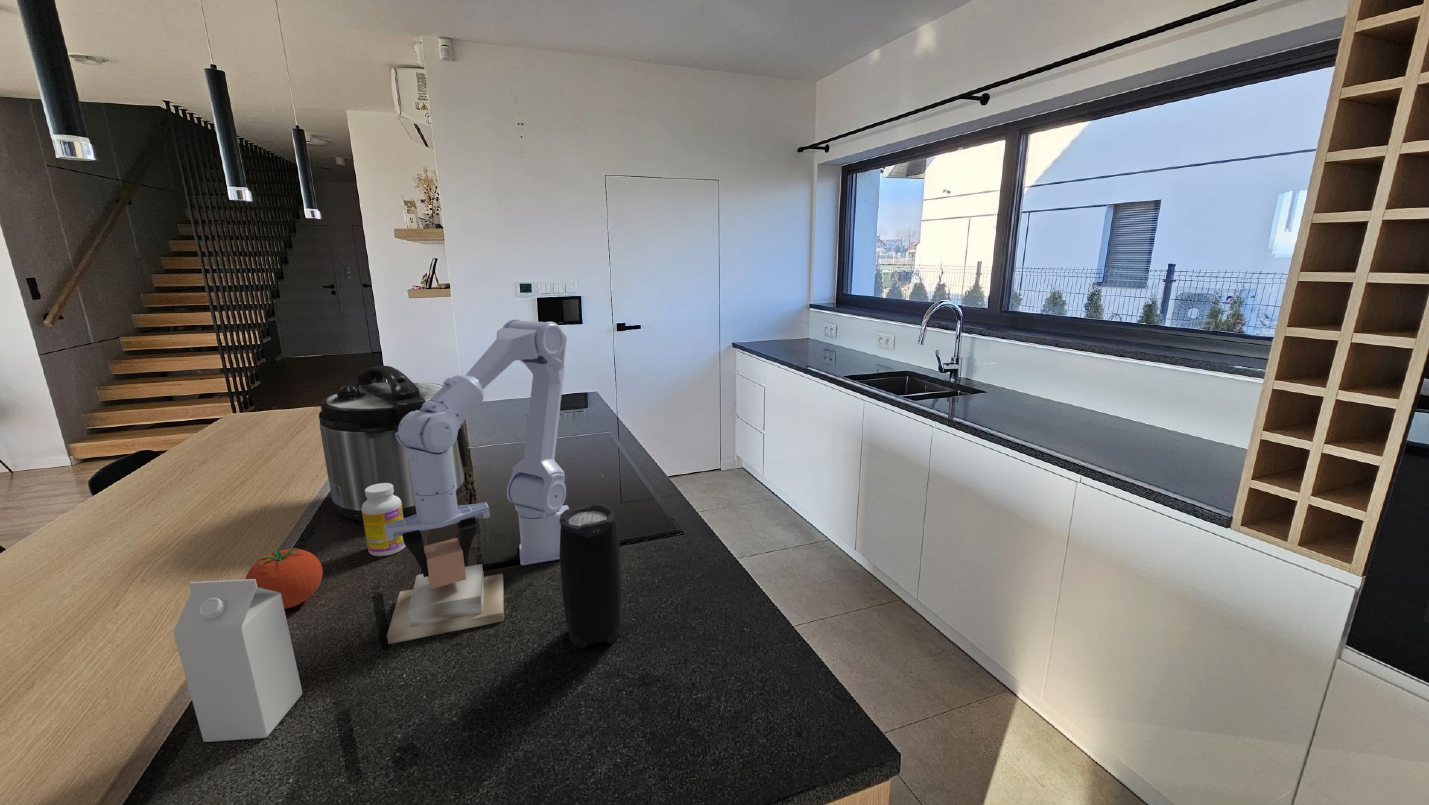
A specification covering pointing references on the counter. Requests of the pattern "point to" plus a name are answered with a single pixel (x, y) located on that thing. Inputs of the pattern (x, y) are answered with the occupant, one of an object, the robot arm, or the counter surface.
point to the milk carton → (237, 659)
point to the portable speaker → (591, 574)
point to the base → (448, 625)
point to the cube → (444, 563)
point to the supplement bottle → (381, 519)
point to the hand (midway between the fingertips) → (445, 568)
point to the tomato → (288, 574)
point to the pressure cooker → (376, 439)
